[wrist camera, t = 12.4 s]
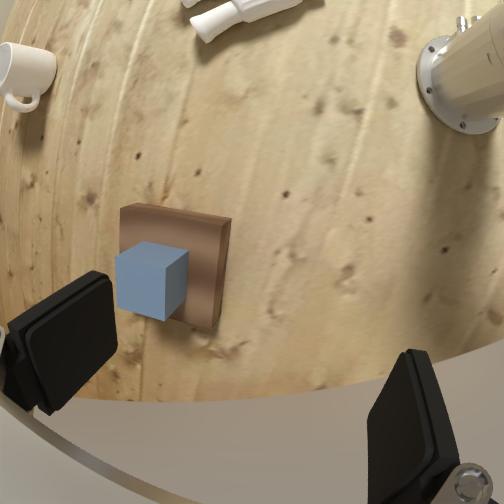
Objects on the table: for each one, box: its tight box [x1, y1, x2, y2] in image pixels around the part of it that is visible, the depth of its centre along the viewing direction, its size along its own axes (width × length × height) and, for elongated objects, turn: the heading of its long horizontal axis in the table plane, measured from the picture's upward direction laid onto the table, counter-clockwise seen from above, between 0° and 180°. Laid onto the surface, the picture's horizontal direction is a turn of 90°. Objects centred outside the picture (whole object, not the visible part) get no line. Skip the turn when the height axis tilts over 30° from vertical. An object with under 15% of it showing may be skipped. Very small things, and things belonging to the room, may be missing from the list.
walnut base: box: [120, 203, 232, 329], centre depth 38 cm, size 13×13×4 cm
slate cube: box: [115, 241, 189, 321], centre depth 33 cm, size 6×6×6 cm
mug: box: [0, 42, 57, 113], centre depth 31 cm, size 12×8×10 cm
